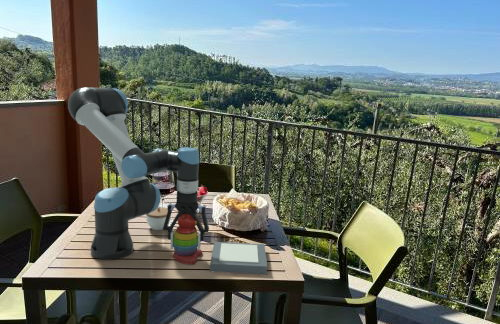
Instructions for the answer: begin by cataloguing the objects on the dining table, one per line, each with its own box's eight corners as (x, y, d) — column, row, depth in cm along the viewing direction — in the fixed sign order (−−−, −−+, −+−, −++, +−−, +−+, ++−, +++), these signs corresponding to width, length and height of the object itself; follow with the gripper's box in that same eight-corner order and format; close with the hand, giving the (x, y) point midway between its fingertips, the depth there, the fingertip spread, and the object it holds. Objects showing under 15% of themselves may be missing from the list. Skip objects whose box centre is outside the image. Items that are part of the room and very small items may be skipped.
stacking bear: (194, 265, 132) (195, 219, 129) (167, 261, 134) (168, 215, 131) (203, 252, 143) (205, 209, 139) (179, 248, 145) (180, 205, 141)
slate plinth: (209, 271, 129) (210, 262, 128) (213, 248, 147) (214, 240, 146) (266, 274, 130) (267, 265, 129) (263, 251, 147) (264, 243, 147)
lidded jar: (150, 222, 169) (150, 203, 167) (173, 224, 169) (173, 204, 167) (142, 231, 158) (142, 211, 156) (167, 233, 158) (167, 212, 156)
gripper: (154, 191, 129) (153, 251, 134) (217, 195, 130) (214, 254, 134) (159, 186, 136) (158, 242, 141) (218, 189, 137) (215, 245, 142)
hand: (185, 248), depth 138 cm, fingers closed on stacking bear, 9 cm apart
